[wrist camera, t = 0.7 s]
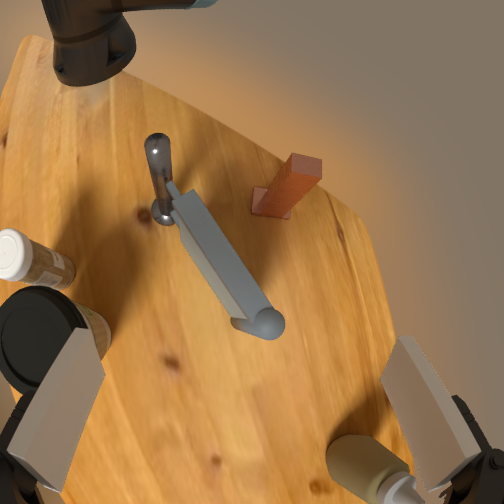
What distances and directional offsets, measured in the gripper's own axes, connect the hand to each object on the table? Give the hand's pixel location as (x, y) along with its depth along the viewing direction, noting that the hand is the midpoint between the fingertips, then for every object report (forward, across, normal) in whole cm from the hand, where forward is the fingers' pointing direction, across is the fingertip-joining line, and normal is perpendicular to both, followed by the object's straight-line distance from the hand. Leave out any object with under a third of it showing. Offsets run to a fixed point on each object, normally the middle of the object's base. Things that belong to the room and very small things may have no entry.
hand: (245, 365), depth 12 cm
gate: (+23, -4, -8) cm, 25 cm away
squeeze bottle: (+11, +15, -31) cm, 36 cm away
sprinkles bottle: (+20, -23, -8) cm, 31 cm away
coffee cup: (+17, -18, -14) cm, 28 cm away
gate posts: (+28, -2, -1) cm, 28 cm away
